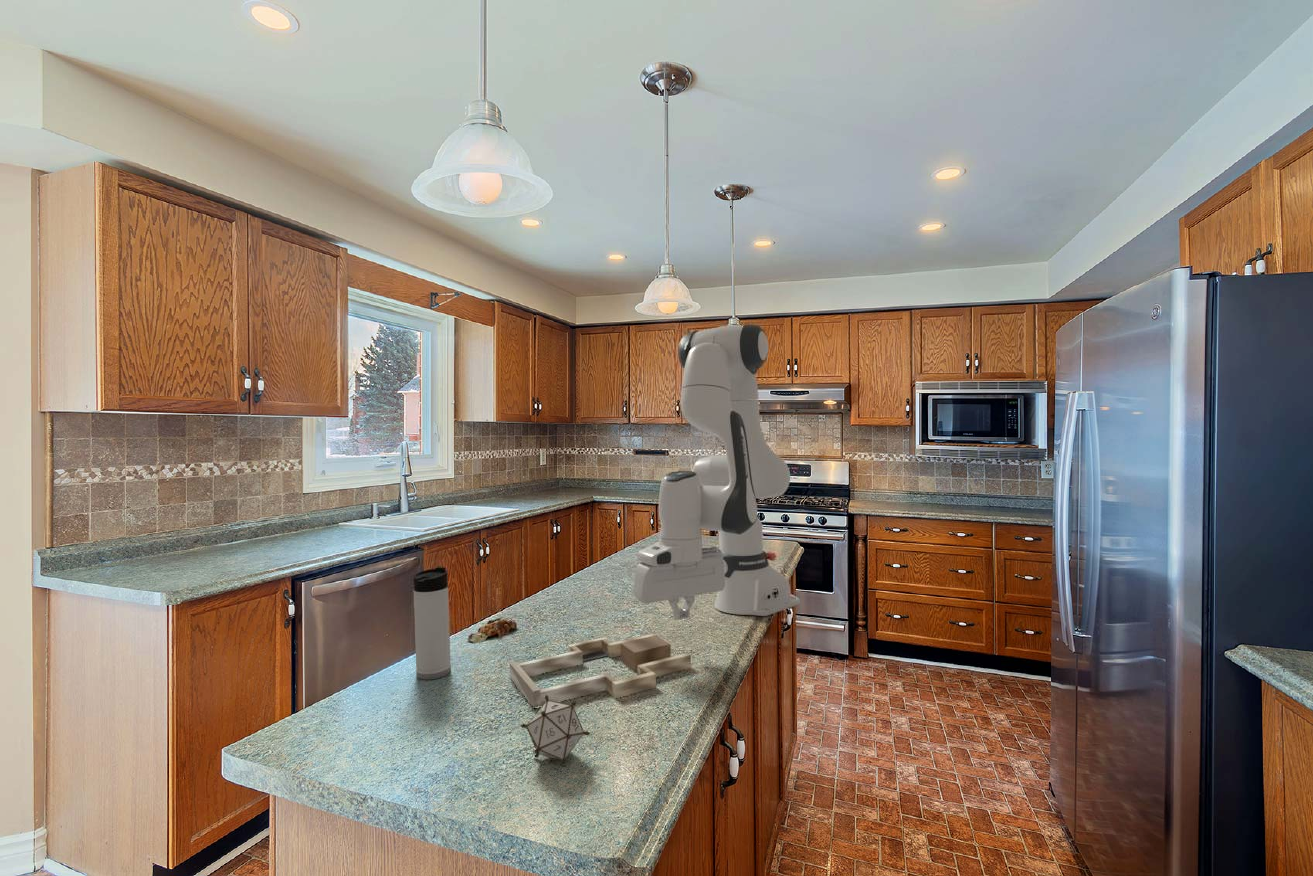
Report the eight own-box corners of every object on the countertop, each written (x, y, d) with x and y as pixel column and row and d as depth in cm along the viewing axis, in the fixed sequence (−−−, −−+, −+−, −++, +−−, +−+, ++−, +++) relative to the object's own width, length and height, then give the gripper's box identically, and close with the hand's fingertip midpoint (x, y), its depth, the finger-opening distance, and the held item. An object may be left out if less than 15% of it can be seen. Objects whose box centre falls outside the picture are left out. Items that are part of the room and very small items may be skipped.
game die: (546, 779, 85) (528, 708, 90) (601, 754, 86) (580, 685, 91) (526, 781, 77) (507, 703, 82) (586, 753, 78) (564, 678, 83)
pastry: (461, 642, 133) (461, 626, 133) (498, 625, 143) (497, 611, 143) (485, 646, 130) (484, 630, 129) (520, 629, 140) (520, 614, 140)
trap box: (645, 639, 130) (645, 625, 130) (702, 675, 111) (702, 659, 111) (504, 671, 115) (503, 656, 115) (541, 719, 95) (541, 700, 95)
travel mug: (458, 668, 117) (455, 567, 117) (436, 681, 111) (432, 575, 110) (432, 664, 119) (429, 565, 119) (409, 678, 113) (405, 573, 113)
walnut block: (656, 654, 122) (655, 635, 122) (670, 664, 117) (670, 644, 117) (621, 663, 118) (620, 643, 118) (635, 673, 113) (634, 652, 113)
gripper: (713, 543, 129) (714, 607, 129) (629, 553, 119) (630, 622, 119) (731, 548, 124) (731, 614, 123) (644, 558, 114) (645, 630, 113)
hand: (681, 618), depth 121 cm, fingers closed
